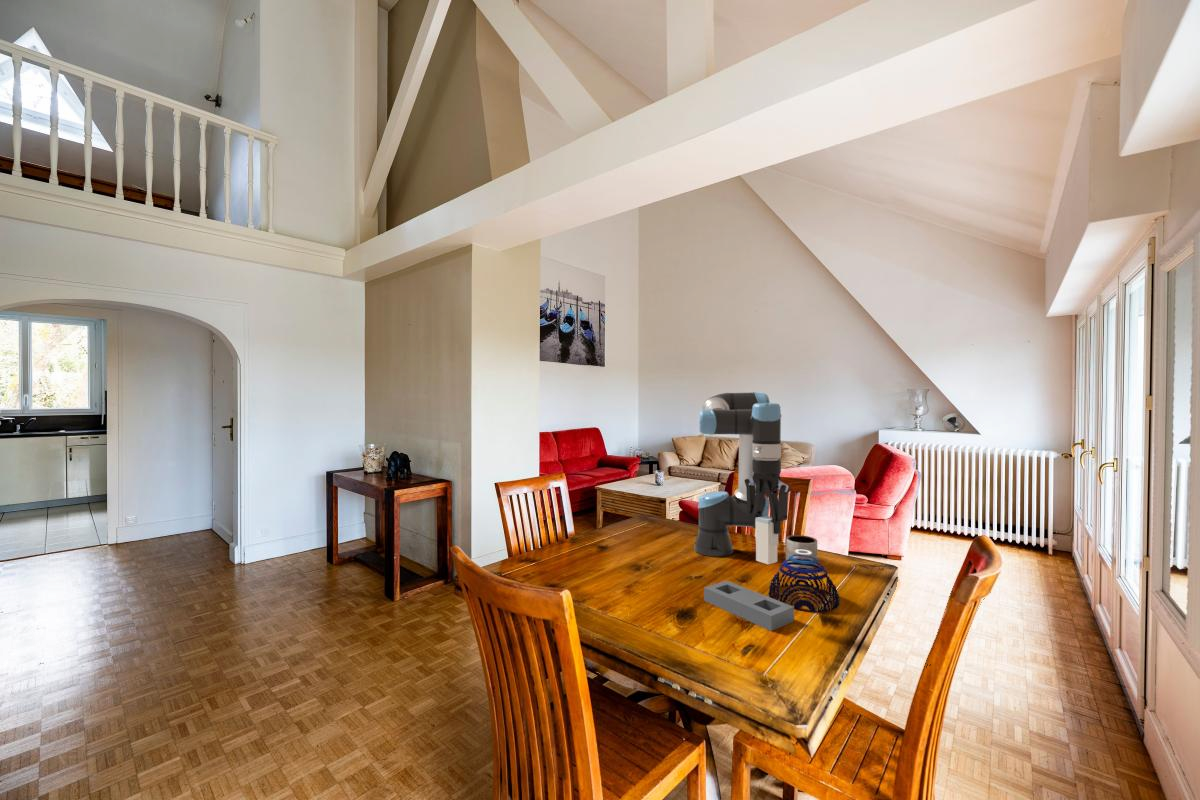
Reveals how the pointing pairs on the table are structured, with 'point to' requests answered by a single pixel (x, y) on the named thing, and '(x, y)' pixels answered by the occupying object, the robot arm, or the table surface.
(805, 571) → the decorative bowl
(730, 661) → the table surface
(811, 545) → the planter
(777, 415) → the robot arm
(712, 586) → the gray socket block
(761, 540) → the plug
